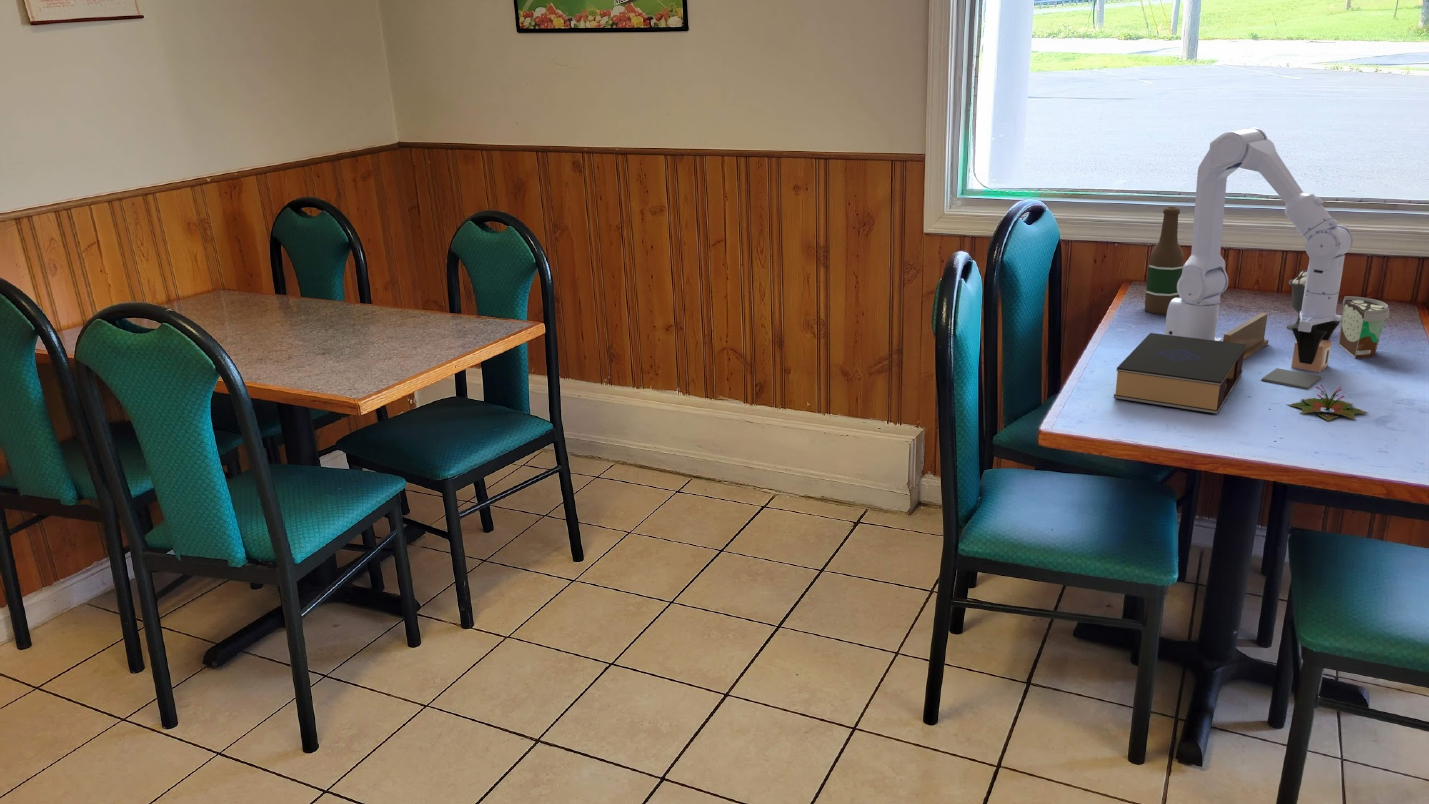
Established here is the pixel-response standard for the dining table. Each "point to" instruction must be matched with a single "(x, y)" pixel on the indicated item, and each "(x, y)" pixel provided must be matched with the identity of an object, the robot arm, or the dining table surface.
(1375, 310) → the food container
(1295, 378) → the charcoal pad
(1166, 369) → the book
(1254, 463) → the dining table surface
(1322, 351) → the letter cube
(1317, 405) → the lily flower
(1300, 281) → the sundae
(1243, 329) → the walnut screen
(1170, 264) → the beer bottle
